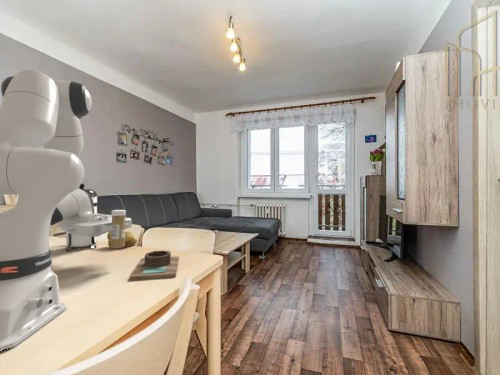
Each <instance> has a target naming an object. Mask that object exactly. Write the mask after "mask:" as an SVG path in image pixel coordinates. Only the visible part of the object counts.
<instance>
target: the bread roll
mask: <svg viewBox="0 0 500 375" xmlns="http://www.w3.org/2000/svg"><path fill="white" fill-rule="evenodd" d="M106 236H107V242H108V243H107V244H108V246H109V248H111V232H107V235H106ZM137 242H138V238H137V237H135V236H134V234H133V233H132V232H130V231H125V240H124V244H125V246H124V247H122V248H127V247H130V246H134V245H136V244H137ZM111 249H112V248H111Z"/></svg>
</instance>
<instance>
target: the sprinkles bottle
mask: <svg viewBox="0 0 500 375" xmlns="http://www.w3.org/2000/svg"><path fill="white" fill-rule="evenodd" d="M126 211H127V210H126V209H114V210H111V215H112V226H115V231H111V249H121V248H122V247H123V248H125V247H124V246H125V244H124V240H125V232H126V229H125V217H126V213H127V212H126Z"/></svg>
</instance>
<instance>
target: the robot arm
mask: <svg viewBox="0 0 500 375" xmlns="http://www.w3.org/2000/svg"><path fill="white" fill-rule="evenodd" d="M0 91H1V95H2V96H1V97H2V100H1V104H0V196H1V195H2V196H8V195H9V196H10V195H12V196H13V195H17V196H18V200H17V202H16V205H15V206H14V207H12V208H10V209H6V210H4V211H2V212H0V351H1V350H4V349H7V350H9V349H8V348H10V349H13V348H14V347H16V346H17V345H19V344H20V343H22V342H23V341H24V340H26V339H28V337H29V338H30V336H31V335H33V334H34V333H35V332H37V331H39V329H41V328H42V327H44V326H45V325H46V324H48V323H49V322H51V321H52V320H53V319H55V318H56V317H58V316H59V315H61V313H63V312H65V311H66V310H67V305H66V303H64V302H62V301H61V297H60V295H61V294H60V286H59V280H58V279H59V276H58V275H57V274H56V273H55V272H54V271H53V270H52V267H51V266H52V264H53V262H52V261H53V260H52V259H53V255H52V249H50V229H51V226H53V225H56V224H57V225H58V227H59V229H60V230H61V231H62V232H64V233H66V232H67V233H69V234H74V235H79V236H90V237H97V238H98V237H100V236H102V235H104V234H106V233H107V234H108V232H111V231H115V226H112V213H111V214H110V213H109V214H105V213H104V214H103V213H97V214H95V213H93V208H94V204H93V200H92V197H91V196H90V195H89V194H88V193H87V192H86V191H84V190H82V189H79V188H80V187H79V186H80V185H81V184H83V181H84V178H85V175H86V174H85V167H84V164H83V162H82V161H81V159H80V158H79V156H80V155H81V154H82V152H83V150H84V136H83V129H82V124H81V119H83V117H85V116H87V115H88V114H90V112H91V108H92V104H93V101H92V100H93V99H92V96H91V94H90V92H89V90H88V87H86V85H84V84H83V83H79V82H77V81H68V80H67V81H66V80H61V79H55V78H51V77H50V76H49V75H48V74H45V73H44V72H43V71H39V70H36V69H35V70H34V69H23V70H20V71H18V72H17V73H16V74H15V75H13V76H7V77H6V78H4V80H3V81H2V82H1V86H0ZM41 146H42V147H41ZM132 226H133V221H132V218H131V217H127V216H125V230H126V229H129V228H132ZM4 351H5V350H4ZM1 352H2V351H1Z"/></svg>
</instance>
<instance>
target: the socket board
mask: <svg viewBox="0 0 500 375" xmlns="http://www.w3.org/2000/svg"><path fill="white" fill-rule="evenodd" d="M171 254H172V253H171V251H169V250H154V251H153V250H152V251H150V252H147V253H145V255H144V257H142V258H141V259H140V260H139V261H138V263H137V264H136V266H135V268H134V269H133V271H132V273H131V274H130V275H129V281H135V280H136V281H139V280H150V279H164V278H167V279H168V278H176V277H177V273H178V265H179V261H180V260H179V259H180V257H179V256H178V255H176V256H172V255H171Z"/></svg>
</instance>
